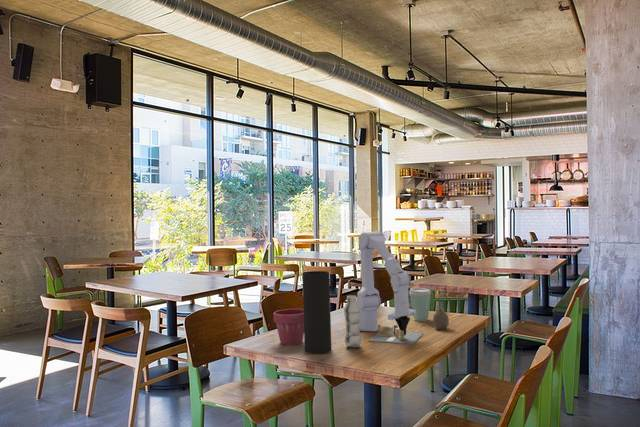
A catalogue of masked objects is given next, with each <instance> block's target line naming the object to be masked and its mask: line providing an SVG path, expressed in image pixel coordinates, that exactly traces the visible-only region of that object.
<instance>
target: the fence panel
mask: <svg viewBox="0 0 640 427" xmlns="http://www.w3.org/2000/svg"><path fill="white" fill-rule="evenodd" d="M395 336H396V337H398V338H399V339H400V340H404V331H403V330H400V329H399V327H398V328H395Z"/></svg>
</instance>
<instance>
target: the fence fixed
mask: <svg viewBox="0 0 640 427" xmlns="http://www.w3.org/2000/svg"><path fill="white" fill-rule="evenodd" d="M377 327H378V330H377V334H378V335H381V334H385V335H393V331H394V336H395V328H399V326H398V324H394V325H393V326H386V325H382V324H377Z"/></svg>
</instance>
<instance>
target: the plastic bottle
mask: <svg viewBox="0 0 640 427" xmlns="http://www.w3.org/2000/svg"><path fill="white" fill-rule="evenodd" d="M343 313H344V321H345V336H344V343H345V346H346V347H347V348H352V349H353V348H359V347H361V344H362V336H361V330H360V329H359V317H360V307H359V306H358V304H357V295H355V294H353V295H347V296H346V304H345V305H344V307H343Z"/></svg>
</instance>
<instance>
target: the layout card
mask: <svg viewBox="0 0 640 427" xmlns="http://www.w3.org/2000/svg"><path fill="white" fill-rule="evenodd" d="M423 335H424V333H423V332H410V331H406V335H404V340H400V339H399V338H398V337H396V336H394V330H393V335H385V334H381V335H378V333H377V334H376V335H374V336H373V337H372V338H370V339H369V340H368V343H369V342H370V343H374V342H375V343H383V344H384V343H386V344H396V345H397V344H399V345H414V344H415V343H416V342H417V341H418V340H419V339H420V338H421V337H422V336H423Z"/></svg>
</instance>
